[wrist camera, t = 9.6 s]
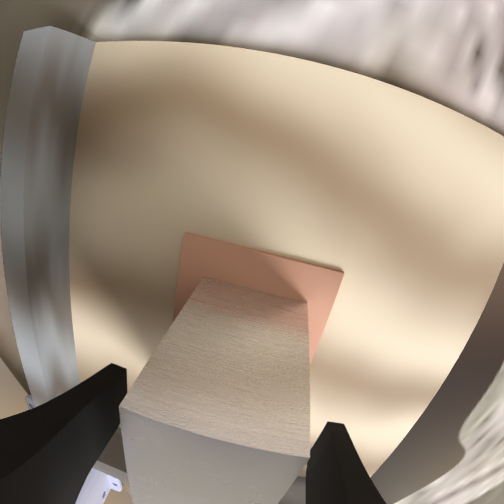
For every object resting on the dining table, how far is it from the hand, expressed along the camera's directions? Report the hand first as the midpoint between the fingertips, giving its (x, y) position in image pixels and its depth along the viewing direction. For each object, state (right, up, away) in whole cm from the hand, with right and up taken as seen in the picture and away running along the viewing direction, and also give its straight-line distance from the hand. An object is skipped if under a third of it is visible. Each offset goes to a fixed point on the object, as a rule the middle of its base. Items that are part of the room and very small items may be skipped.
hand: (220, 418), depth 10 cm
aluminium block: (0, +1, +3) cm, 3 cm away
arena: (+1, +2, +4) cm, 5 cm away
